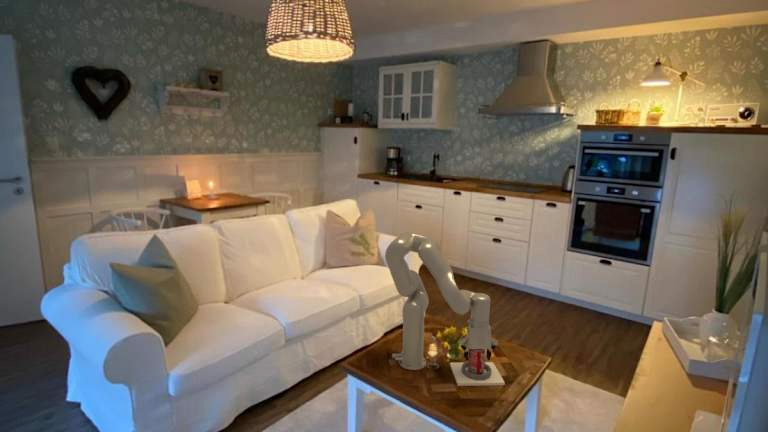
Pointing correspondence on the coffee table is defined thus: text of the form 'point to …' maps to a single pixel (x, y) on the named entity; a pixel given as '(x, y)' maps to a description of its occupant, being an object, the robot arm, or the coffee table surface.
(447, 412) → the coffee table surface
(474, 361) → the soda can
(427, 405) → the coffee table surface
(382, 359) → the coffee table surface
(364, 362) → the coffee table surface
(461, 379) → the collar board
